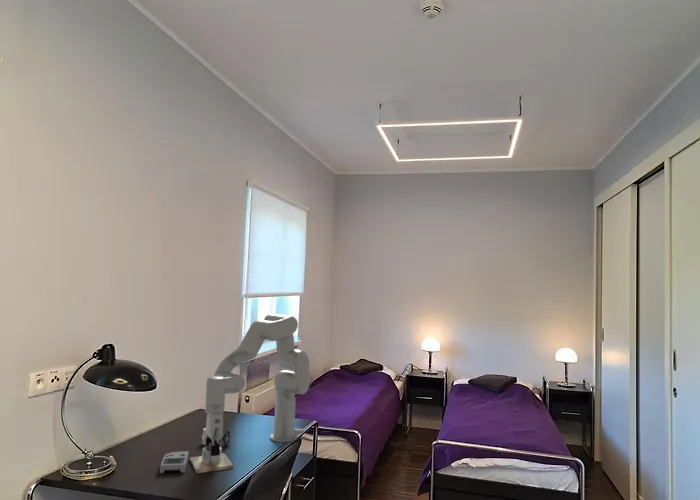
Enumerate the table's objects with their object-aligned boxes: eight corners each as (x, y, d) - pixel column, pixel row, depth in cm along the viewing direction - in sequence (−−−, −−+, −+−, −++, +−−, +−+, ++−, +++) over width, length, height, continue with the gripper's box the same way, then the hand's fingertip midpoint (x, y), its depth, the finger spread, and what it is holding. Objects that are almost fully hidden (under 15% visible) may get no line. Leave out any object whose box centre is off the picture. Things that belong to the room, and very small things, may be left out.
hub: (218, 457, 199) (219, 444, 199) (222, 463, 193) (223, 450, 193) (200, 459, 196) (201, 446, 196) (204, 465, 189) (205, 452, 190)
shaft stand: (224, 456, 203) (225, 436, 204) (232, 468, 191) (234, 446, 192) (189, 460, 197) (191, 439, 197) (196, 473, 184) (197, 451, 185)
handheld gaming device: (188, 460, 198) (188, 450, 199) (184, 474, 184) (185, 463, 184) (165, 461, 196) (165, 451, 197) (159, 475, 182) (160, 465, 182)
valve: (198, 445, 215) (224, 448, 213) (199, 430, 215) (225, 433, 213) (205, 441, 221) (230, 443, 219) (206, 426, 222) (231, 428, 220)
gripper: (229, 412, 190) (227, 457, 189) (219, 401, 205) (217, 443, 204) (210, 414, 186) (207, 460, 185) (201, 403, 201) (198, 445, 200)
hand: (212, 451), depth 195 cm, fingers open, 9 cm apart
